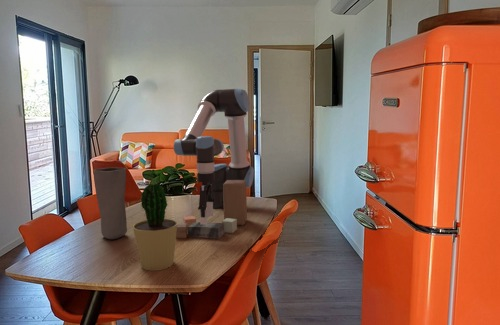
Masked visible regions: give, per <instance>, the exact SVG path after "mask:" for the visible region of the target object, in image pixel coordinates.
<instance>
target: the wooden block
mask: <svg viewBox="0 0 500 325" xmlns="http://www.w3.org/2000/svg"><path fill="white" fill-rule="evenodd" d="M247 200H248V199H247V188H246V181H245V180H227V181H226V182H225V183H224V184H223V201H224V208H223V220H224V219H226V218H231V219H237V226H244V225H245V224H246V222H247V220H248V219H247V218H248V212H247V211H248V208H247V207H248V206H247V203H248V202H247Z"/></svg>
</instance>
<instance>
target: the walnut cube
mask: <svg viewBox="0 0 500 325" xmlns="http://www.w3.org/2000/svg"><path fill="white" fill-rule="evenodd" d="M187 237H188V230H187V223H185V224H183V223H177V232H176V239H187Z"/></svg>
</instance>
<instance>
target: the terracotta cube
mask: <svg viewBox="0 0 500 325" xmlns="http://www.w3.org/2000/svg"><path fill="white" fill-rule="evenodd" d="M182 219H183V223H182V224H185V223H187V231H188V226H190V225H191V224H193V223H195V222H197V218H196V216H195V215H188V216H183V218H182Z"/></svg>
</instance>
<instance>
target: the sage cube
mask: <svg viewBox="0 0 500 325" xmlns="http://www.w3.org/2000/svg"><path fill="white" fill-rule="evenodd" d="M221 223H224V230H225V233H234V232H236V231H237V230H238V225H237V219H231V218H226V219H224V218H223V220H222V221H221Z"/></svg>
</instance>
